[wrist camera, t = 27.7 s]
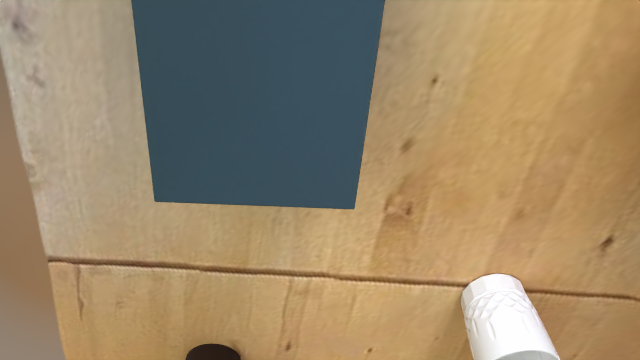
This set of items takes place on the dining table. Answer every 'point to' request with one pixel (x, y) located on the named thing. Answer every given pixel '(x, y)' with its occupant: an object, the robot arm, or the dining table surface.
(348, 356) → the dining table surface
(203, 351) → the coffee mug
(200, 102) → the tin lid
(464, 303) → the white cup
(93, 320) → the dining table surface
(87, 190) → the dining table surface
